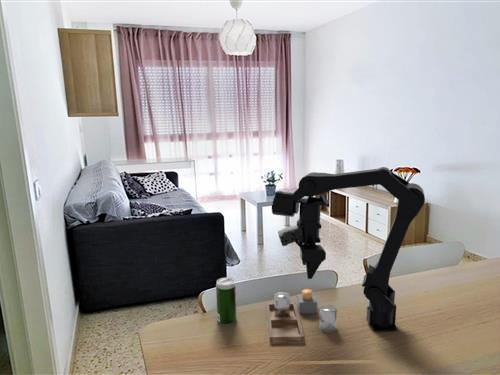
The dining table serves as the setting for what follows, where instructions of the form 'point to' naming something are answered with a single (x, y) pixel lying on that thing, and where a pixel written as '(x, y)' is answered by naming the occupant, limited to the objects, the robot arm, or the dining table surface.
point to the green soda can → (226, 301)
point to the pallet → (284, 326)
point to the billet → (328, 318)
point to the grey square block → (306, 304)
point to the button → (307, 294)
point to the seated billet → (282, 304)
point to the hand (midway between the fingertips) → (307, 271)
